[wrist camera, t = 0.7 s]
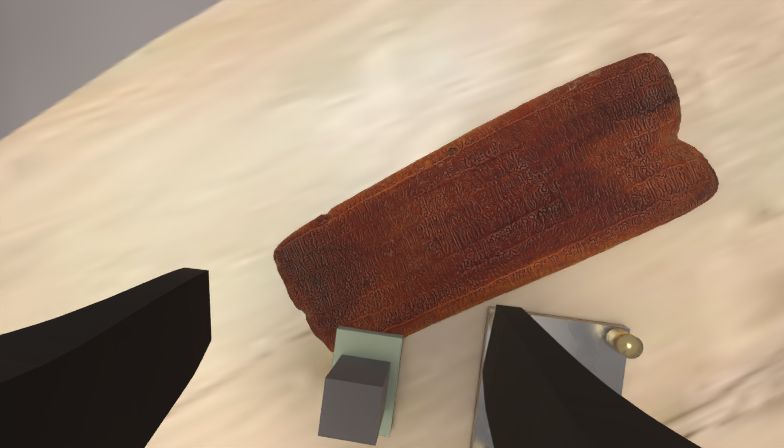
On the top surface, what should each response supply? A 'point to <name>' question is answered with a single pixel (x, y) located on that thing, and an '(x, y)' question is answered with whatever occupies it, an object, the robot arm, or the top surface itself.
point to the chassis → (584, 342)
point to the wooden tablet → (501, 206)
